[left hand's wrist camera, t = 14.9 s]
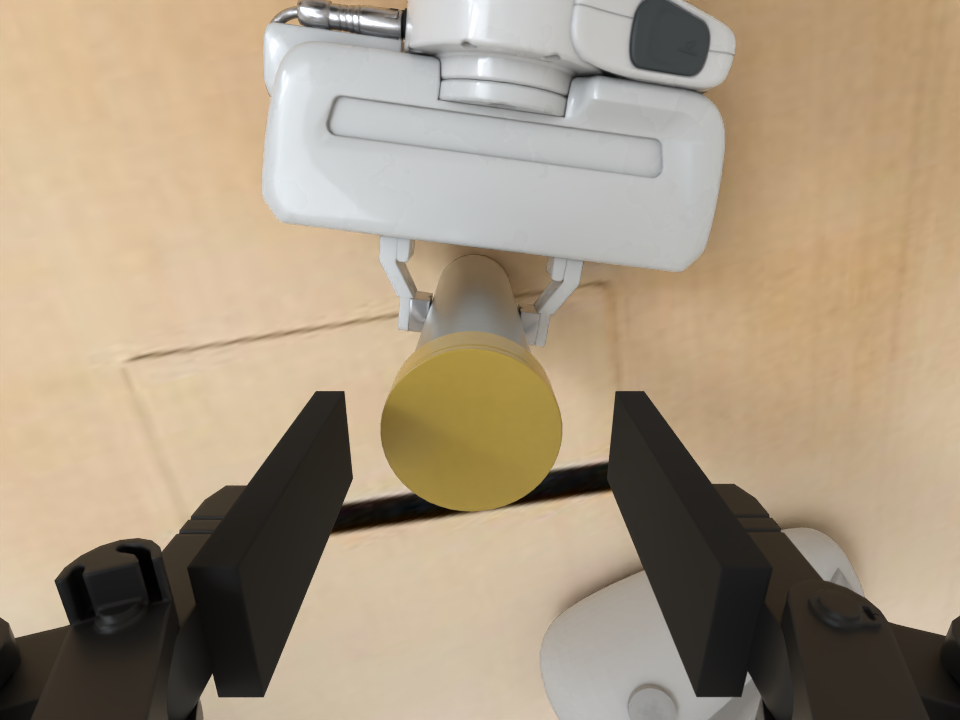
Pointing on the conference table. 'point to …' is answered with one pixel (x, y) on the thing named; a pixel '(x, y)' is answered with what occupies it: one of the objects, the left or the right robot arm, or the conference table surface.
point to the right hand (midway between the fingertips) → (472, 335)
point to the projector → (648, 651)
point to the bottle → (473, 302)
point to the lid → (471, 422)
